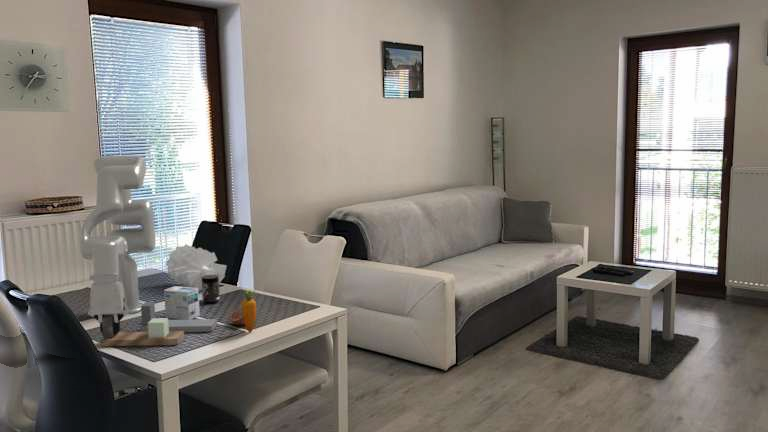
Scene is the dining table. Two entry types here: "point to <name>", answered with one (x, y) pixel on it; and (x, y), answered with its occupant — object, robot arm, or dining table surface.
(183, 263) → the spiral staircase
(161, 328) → the sage block
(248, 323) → the carrot
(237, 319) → the fruit slice
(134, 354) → the dining table surface
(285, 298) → the dining table surface
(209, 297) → the supplement container
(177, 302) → the light bulb box
